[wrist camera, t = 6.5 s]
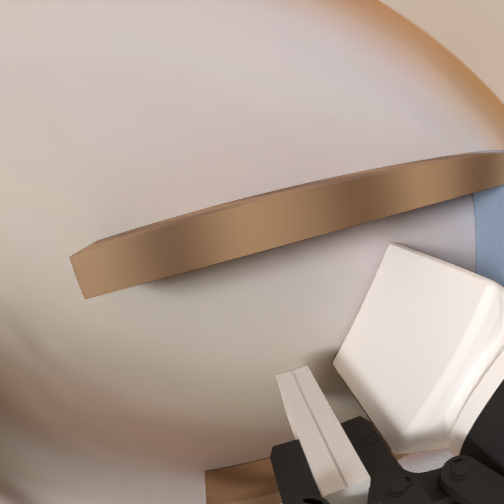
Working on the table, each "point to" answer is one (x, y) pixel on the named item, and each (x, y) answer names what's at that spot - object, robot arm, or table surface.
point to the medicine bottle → (430, 357)
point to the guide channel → (270, 236)
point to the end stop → (490, 231)
